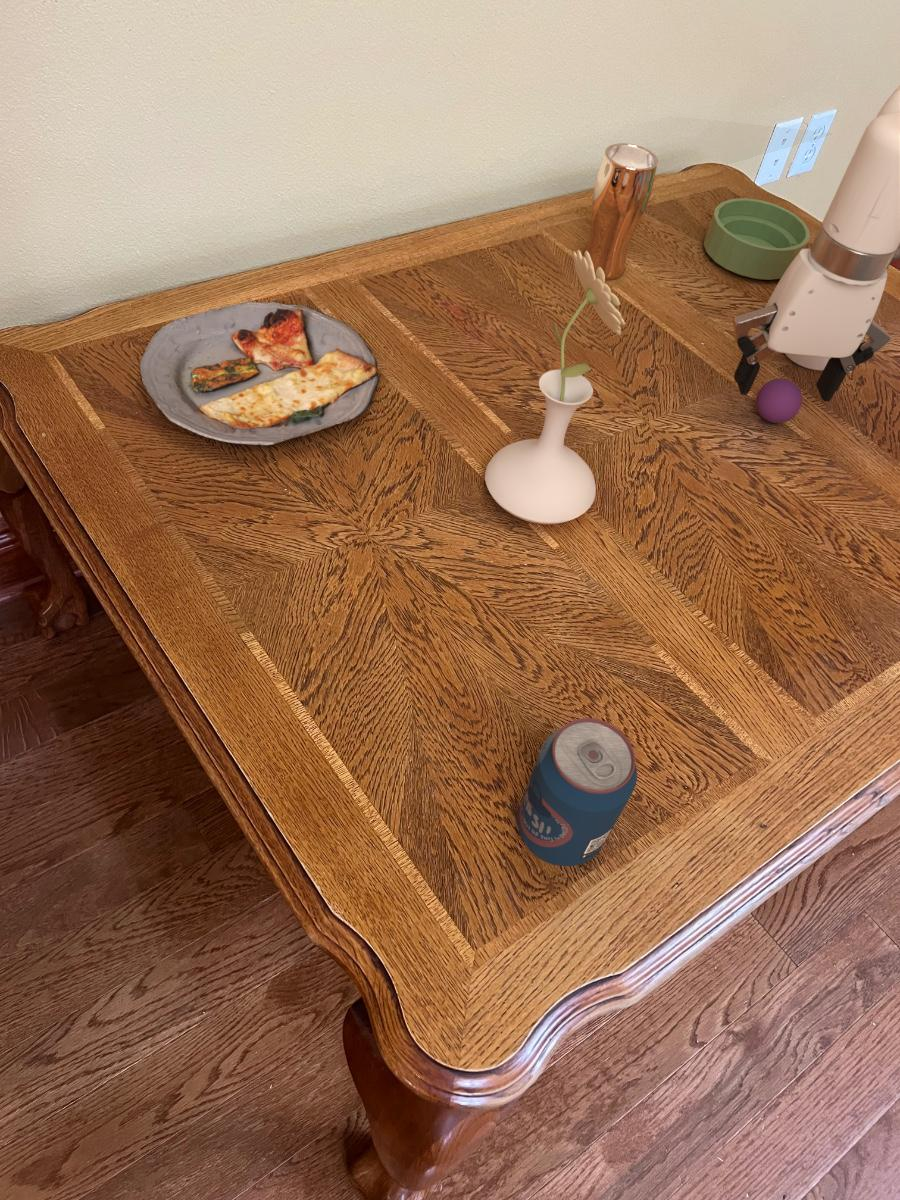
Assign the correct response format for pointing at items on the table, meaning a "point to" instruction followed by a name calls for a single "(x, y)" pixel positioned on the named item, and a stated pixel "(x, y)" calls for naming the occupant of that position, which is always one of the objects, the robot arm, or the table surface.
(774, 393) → the ball
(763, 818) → the table surface
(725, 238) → the bowl
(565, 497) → the flower in vase
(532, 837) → the soda can
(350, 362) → the food plate
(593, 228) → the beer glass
